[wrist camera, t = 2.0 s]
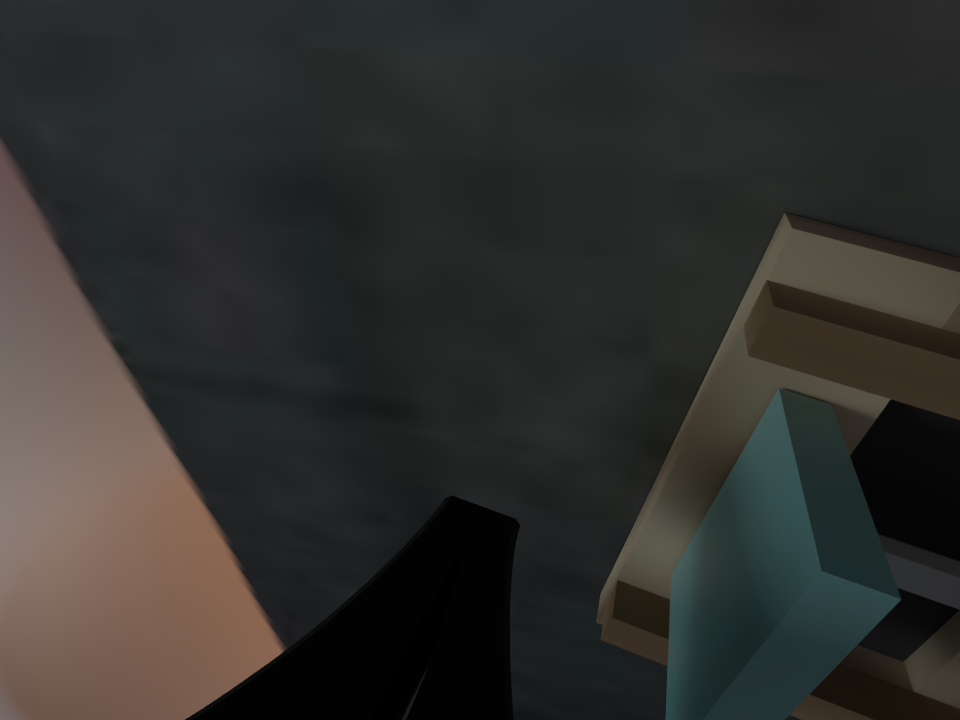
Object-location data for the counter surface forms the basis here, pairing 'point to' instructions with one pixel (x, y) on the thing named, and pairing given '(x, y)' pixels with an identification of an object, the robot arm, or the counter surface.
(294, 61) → the counter surface
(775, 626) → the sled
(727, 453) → the tunnel board
